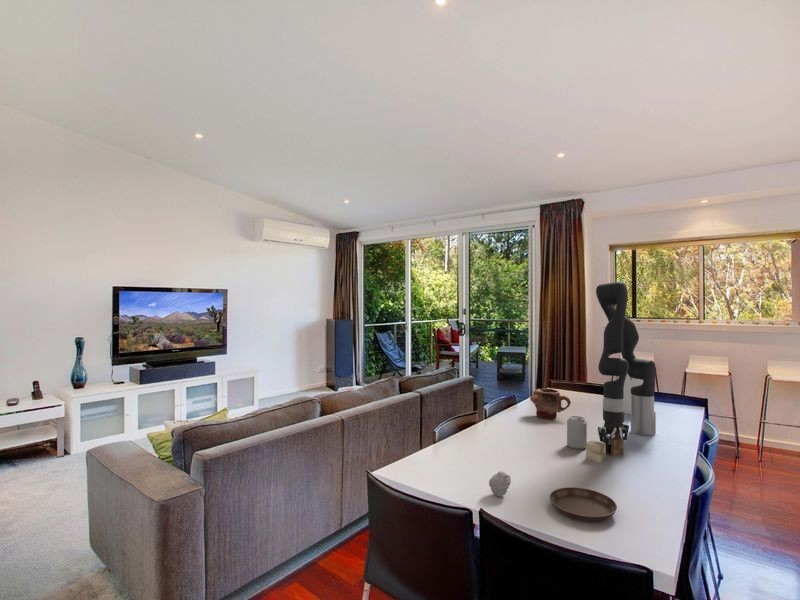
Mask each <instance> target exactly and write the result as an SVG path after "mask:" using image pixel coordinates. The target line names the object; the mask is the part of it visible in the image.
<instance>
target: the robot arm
mask: <svg viewBox="0 0 800 600" xmlns="http://www.w3.org/2000/svg"><path fill="white" fill-rule="evenodd" d="M595 293H596V294H595V295H596V298H597V301H598V304H599V305H600V308H601V309H602V311H603V313H604V315H605V317H606V319H607V321H608V322H607V324H606V326H605V328H604V331H603V349H602V354H601V356H600V358H599V362H598V371H599V373H600V374H601V375H603V376H611V377H617V378H618V379H616V380H610V381H605V382H604V383H603V399H602V419H603V421H604V424H603V426H597V434H598V437H599V442H602V443H606V454H607V453H608V454H607V455H609V454H611V440H612V439H613V438H614V436H615V437H619V438H622V439H624V441H627V440H628V437H629V435H628V434H629V428H630V432H631V433H632V434H636V435H640V436H646V437H647V436H654V435H655V434H656V431H657V429H656V428H657V426H656V425H657V424H656V423H657V419H656V418H657V416H656V412H655V391H656V390H655V389H656V373H657V368H656V364H655V361H653V360H652V359H645V358H637V357H636V356H635V353H634V351H635V348H636V347H637V345H638V342H639V339H640V335H639V332H638V329H637V327H636V325H635V323H634V322H633V321H632V319H630V318H629V317H628V316H626V315H627V314H626V313H627V307H628V306H627V305H628V298H629V297H628V296H629V294H628V293H629V291H628V289H627V285H626V284H625V283H624V282H623V281H614V282H608V283H601V284H599V285H597V286H596V290H595ZM615 305H616V307H615ZM615 354H621V357H610V356H611V355H615ZM627 374H628V375H629V376H630V377H631V378H634V379H641V380H643V384H642V385H640V386H634V387H632V388H631V414H630V426H629V425H628V424H625V423H624V422H625V414H624V382H625V379H626V376H627ZM618 376H619V377H618ZM607 438H609V439H608V440H607Z"/></svg>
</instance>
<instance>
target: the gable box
mask: <svg viewBox="0 0 800 600" xmlns="http://www.w3.org/2000/svg"><path fill="white" fill-rule="evenodd" d="M618 377H619V376H617V379H618ZM617 379H616V380H617ZM642 384H643V380H641V379H634V378H631V377H630V376H629V375H628V374H627V376H626V379H625V382H624V415H625V414H626V415H631V388H632V387H634V386H640V385H642Z"/></svg>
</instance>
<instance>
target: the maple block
mask: <svg viewBox="0 0 800 600" xmlns="http://www.w3.org/2000/svg"><path fill="white" fill-rule="evenodd" d="M606 454H607V453H606V443H603V442H601V441H597V440H594V439H592V440H590V441H587V443H586V447H585V459H586V460H590V461H593V462H597V463H601V462H603V461H605V460H607V459H606Z"/></svg>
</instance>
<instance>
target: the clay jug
mask: <svg viewBox="0 0 800 600" xmlns="http://www.w3.org/2000/svg"><path fill="white" fill-rule="evenodd" d="M529 400H530V401H531V402H532V404H533V405H534V406H535V409H536V412H535V414H536V417H537V418H539V419H542V420H548V421H549V420H551V421H552V420H554V419H557V413H561V412H563V411H565V410H567V409H568V408H569V407H570V406H571V400H570V398H569V397H568V396H565V395H562V394H561V393H560V392H559V390H557V389H556V390H555V389H553V388H537V389H535V390H534V391H533V395H531V396H530V398H529ZM562 401H566V403H567V405H566V406H565V407H562Z"/></svg>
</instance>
